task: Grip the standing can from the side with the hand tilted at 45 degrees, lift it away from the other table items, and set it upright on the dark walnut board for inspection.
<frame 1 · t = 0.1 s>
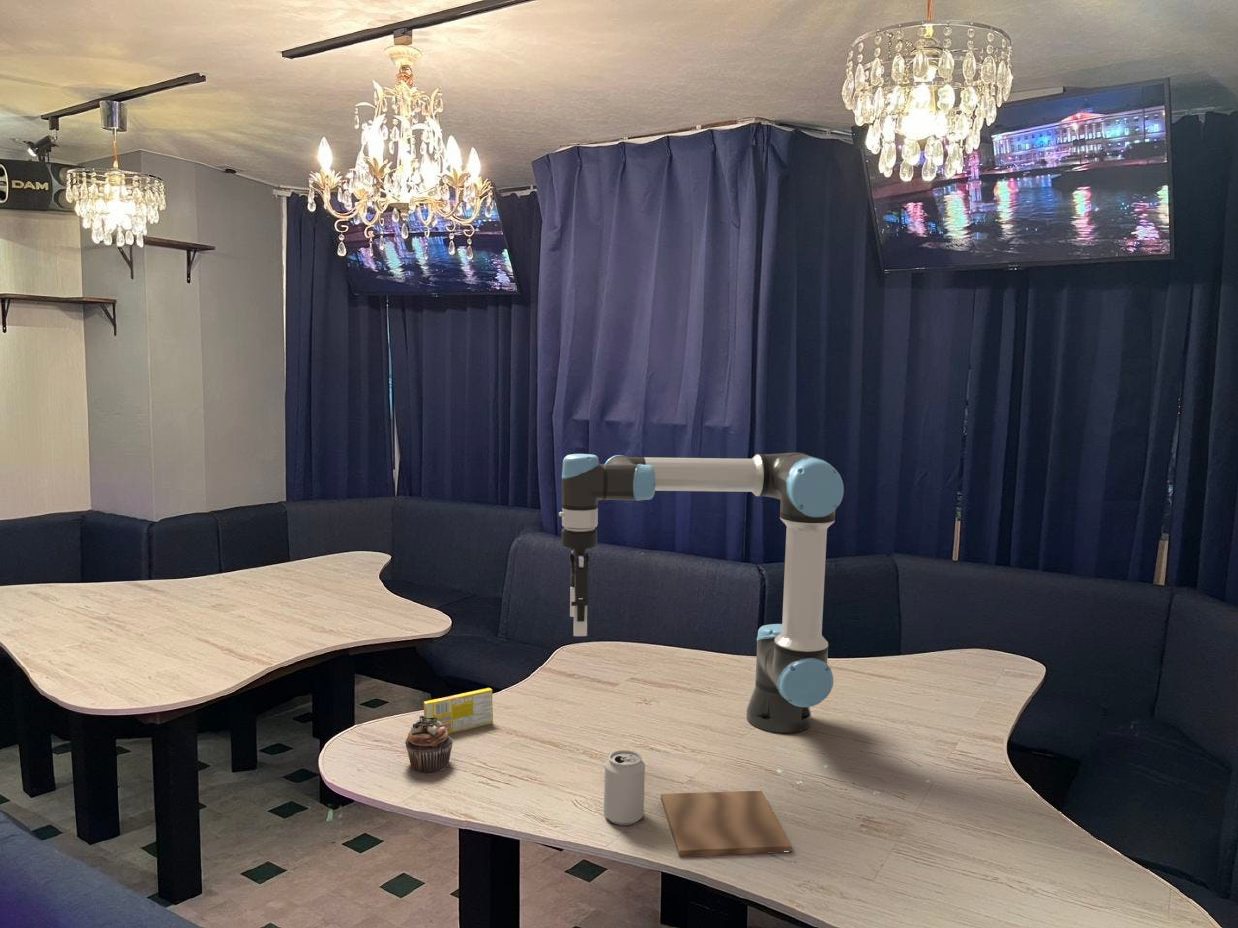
hand: (578, 625, 193), 28 cm above the table, fingers open, 13 cm apart
walnut board: (722, 824, 167), on the table
cupcake: (429, 765, 189), on the table
can: (623, 817, 169), on the table
candy box: (458, 730, 206), on the table
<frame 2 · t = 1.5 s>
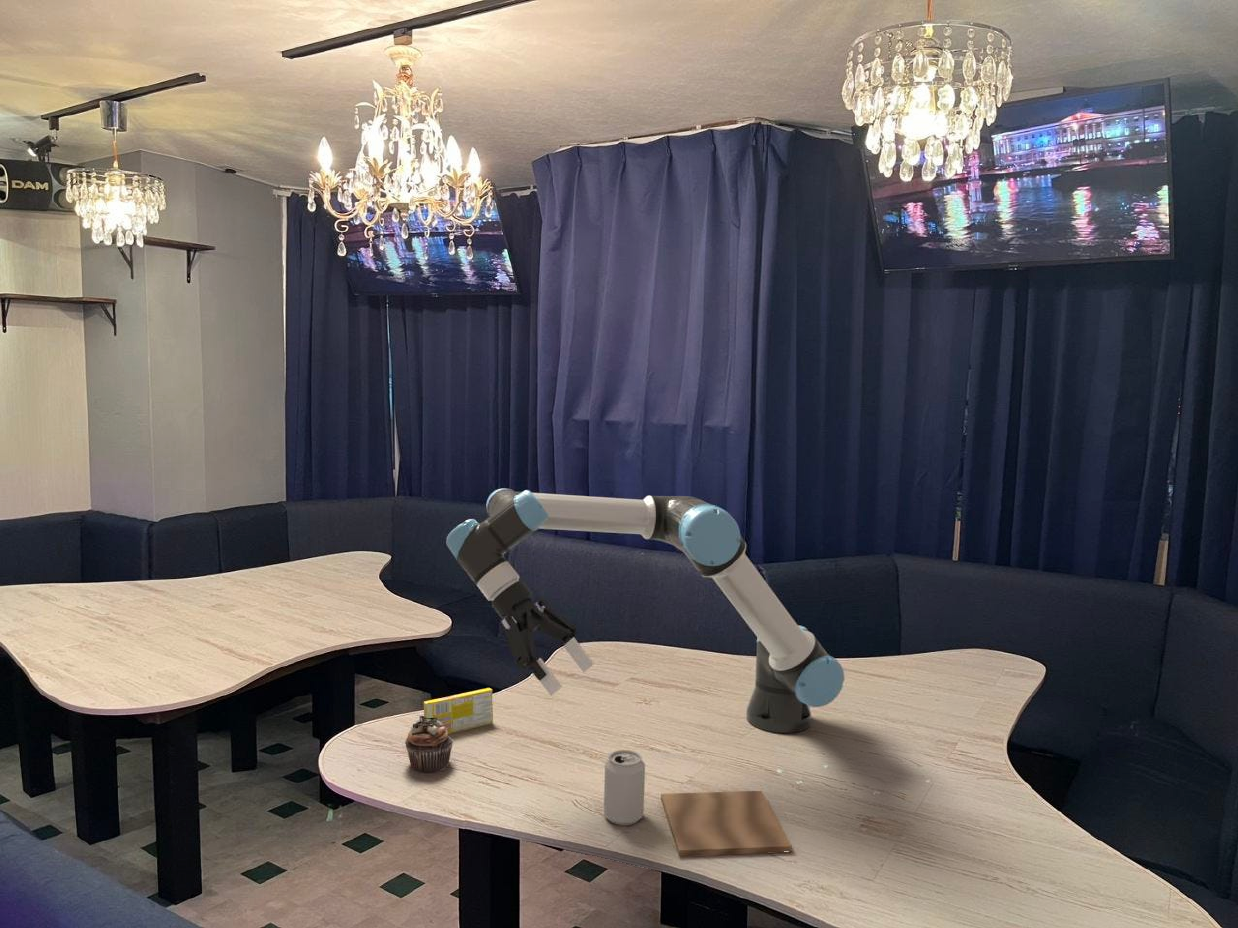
hand: (573, 679, 170), 25 cm above the table, fingers open, 13 cm apart
nothing on the table moved.
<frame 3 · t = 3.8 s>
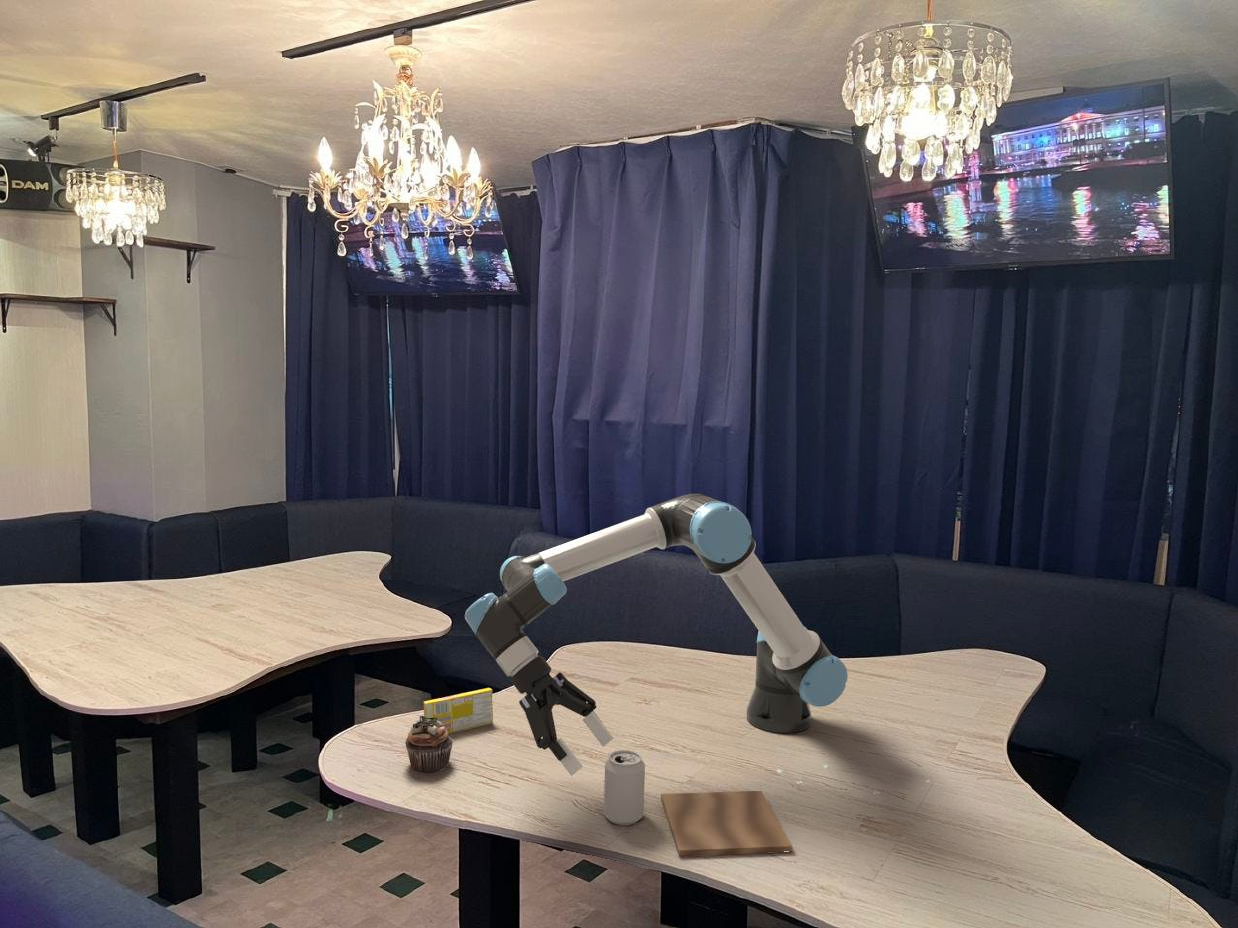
hand: (593, 756, 170), 11 cm above the table, fingers open, 13 cm apart
nothing on the table moved.
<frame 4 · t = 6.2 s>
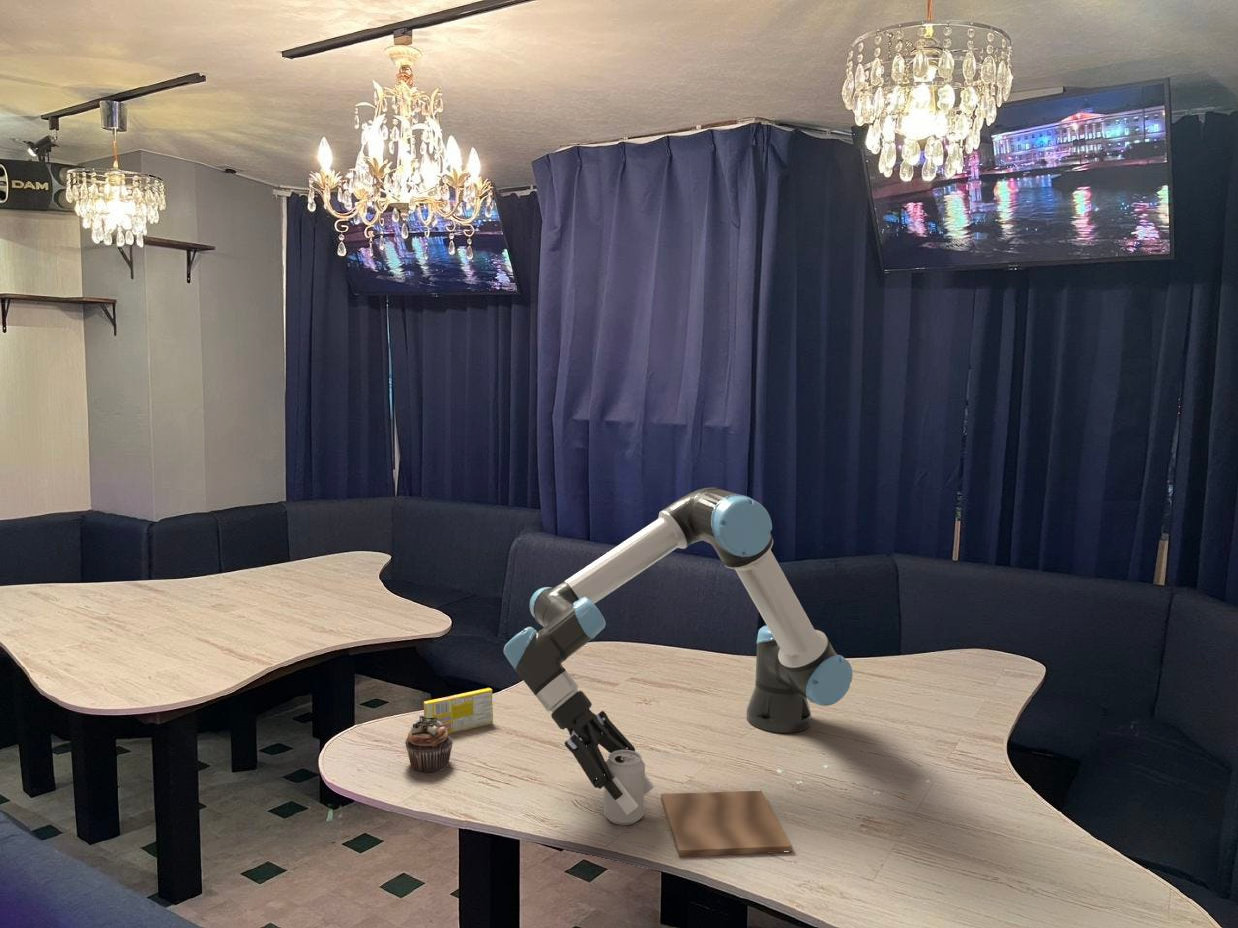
hand: (641, 800, 168), 4 cm above the table, fingers closed on can, 7 cm apart
can: (623, 817, 169), on the table, touching gripper
everything else where it was.
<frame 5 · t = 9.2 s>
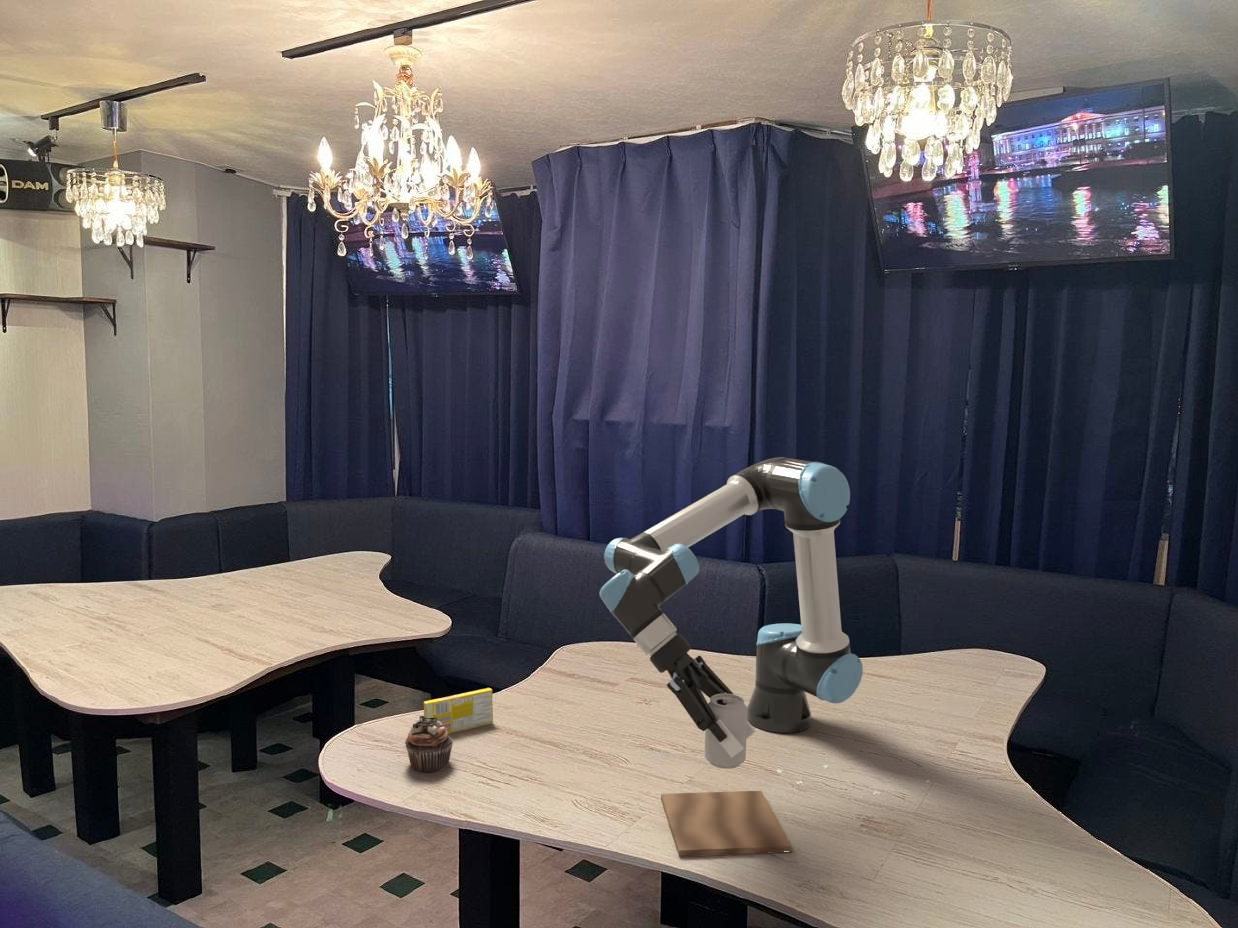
hand: (743, 743, 164), 16 cm above the table, fingers closed on can, 7 cm apart
can: (724, 762, 166), point 12 cm above the table, touching gripper
everything else where it was.
when the fingers open (7 cm above the table, at t = 12.3 s): can drops 1 cm, resting on walnut board.
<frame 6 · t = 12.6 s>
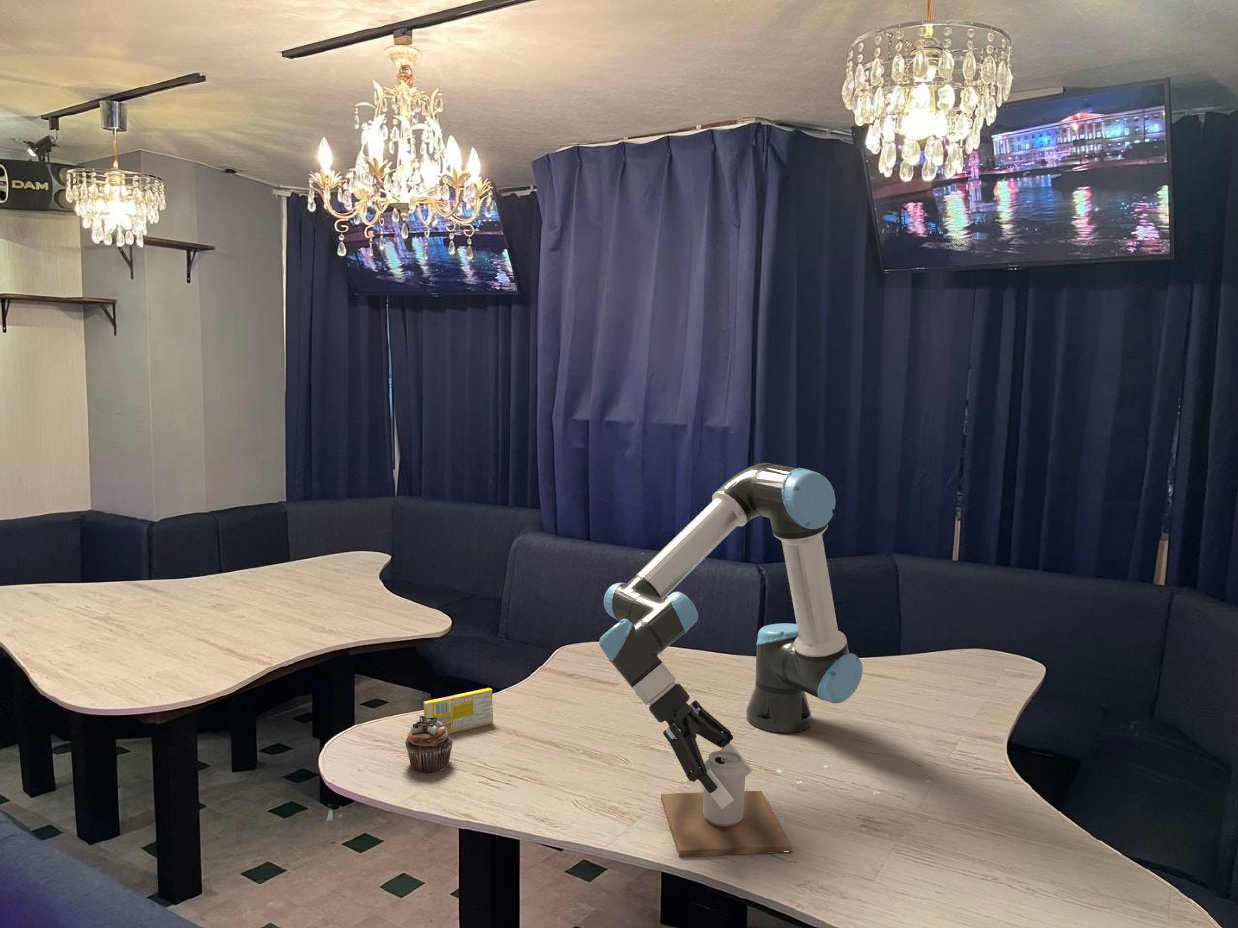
hand: (738, 788, 165), 8 cm above the table, fingers open, 12 cm apart
can: (722, 818, 167), point 1 cm above the table, touching walnut board
everything else where it was.
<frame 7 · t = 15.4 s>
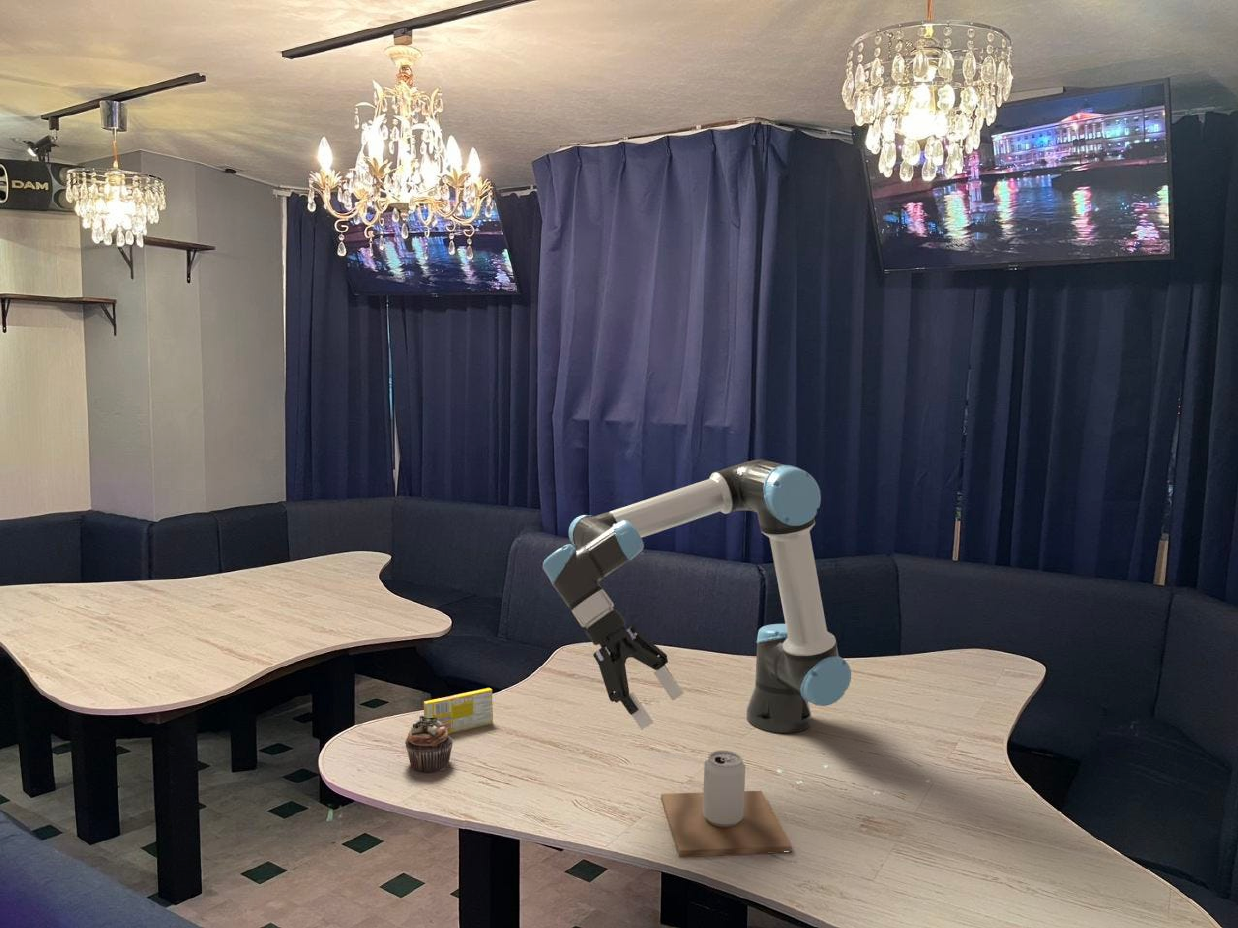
hand: (663, 711, 172), 19 cm above the table, fingers open, 13 cm apart
nothing on the table moved.
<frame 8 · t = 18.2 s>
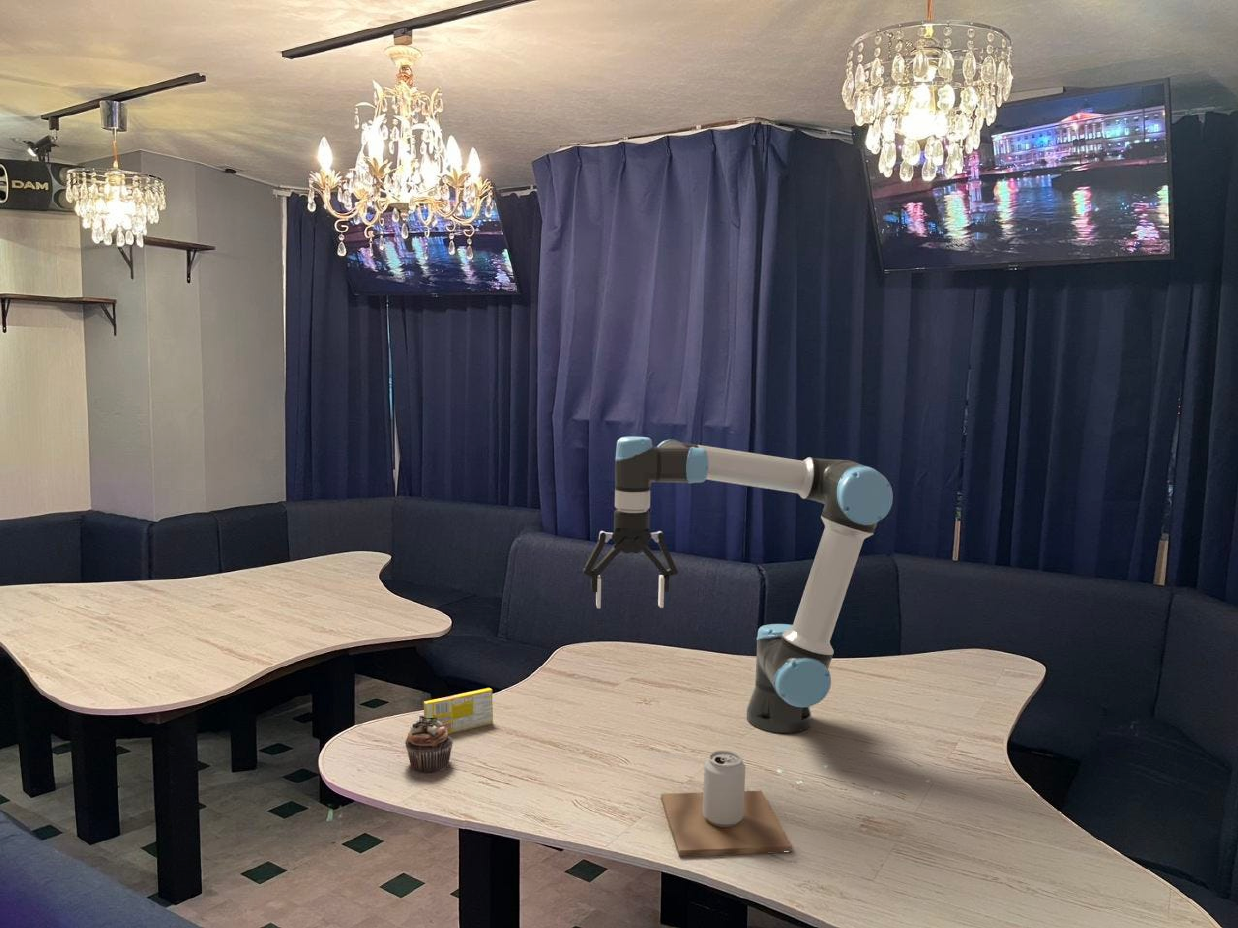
hand: (629, 606, 195), 32 cm above the table, fingers open, 13 cm apart
nothing on the table moved.
at the end: can inside the target area on the walnut board (0.0 cm from its centre), point 1.0 cm above the walnut board's base; can tilted 0°; the gripper is holding nothing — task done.
